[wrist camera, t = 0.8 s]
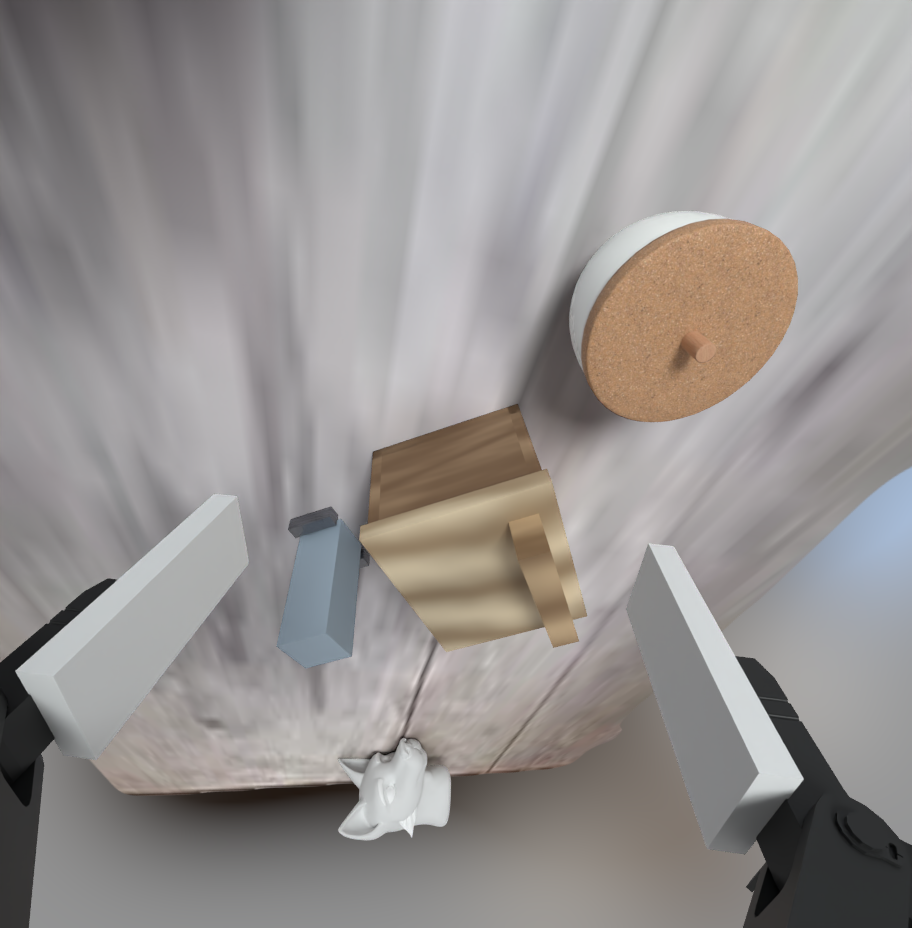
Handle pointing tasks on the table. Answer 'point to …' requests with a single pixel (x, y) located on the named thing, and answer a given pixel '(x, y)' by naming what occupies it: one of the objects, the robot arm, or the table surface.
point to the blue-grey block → (322, 598)
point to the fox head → (396, 792)
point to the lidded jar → (680, 313)
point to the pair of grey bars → (320, 527)
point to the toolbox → (450, 463)
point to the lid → (484, 563)
